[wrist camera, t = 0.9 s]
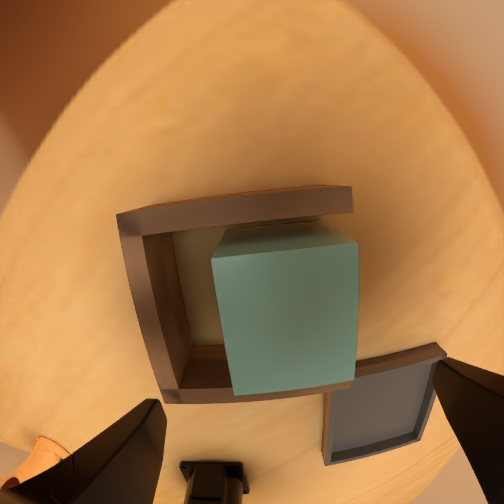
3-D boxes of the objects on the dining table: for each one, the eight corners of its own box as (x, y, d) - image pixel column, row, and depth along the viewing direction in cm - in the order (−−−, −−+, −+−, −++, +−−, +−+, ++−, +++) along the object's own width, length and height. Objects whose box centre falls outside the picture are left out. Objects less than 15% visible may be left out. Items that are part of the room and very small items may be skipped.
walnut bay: (331, 346, 20) (350, 387, 16) (180, 360, 21) (164, 403, 16) (325, 184, 18) (351, 186, 13) (149, 205, 18) (116, 214, 13)
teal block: (324, 320, 20) (354, 379, 13) (239, 330, 20) (234, 395, 13) (320, 220, 18) (358, 242, 12) (225, 230, 19) (210, 258, 12)
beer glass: (76, 451, 24) (31, 538, 10) (80, 474, 26) (45, 550, 11) (31, 425, 24) (-21, 500, 9) (39, 452, 25) (-2, 519, 11)
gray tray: (413, 428, 23) (420, 440, 21) (321, 451, 23) (324, 465, 21) (435, 342, 21) (447, 353, 19) (325, 366, 21) (330, 382, 19)
